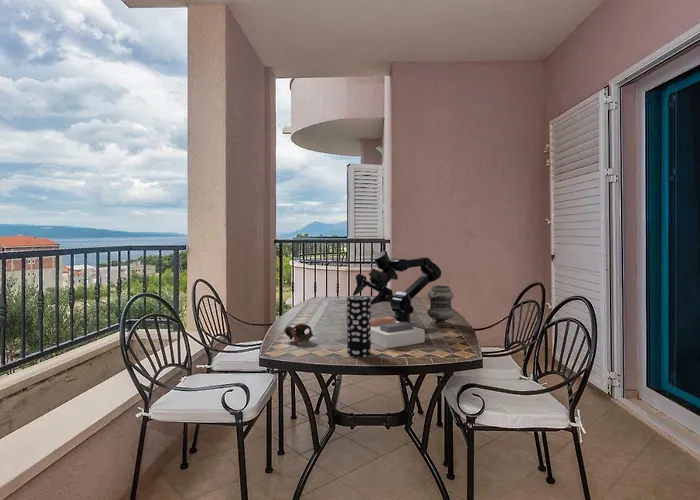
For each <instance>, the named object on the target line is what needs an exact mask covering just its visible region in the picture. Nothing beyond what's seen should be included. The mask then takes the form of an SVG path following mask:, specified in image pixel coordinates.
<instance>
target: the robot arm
mask: <svg viewBox="0 0 700 500" xmlns="http://www.w3.org/2000/svg"><path fill="white" fill-rule="evenodd" d="M372 259H373V261H374V262H375V265H376V266H377V268H378V270H377V269H376V268H373V267H372V268H371V269H370V271H369V272H368V274H367V275H369V280H368V279H367V276H366V275H364V274H362V273H358V274H356V275H355V282H356V286H355V289H354V290H353V293H352V295H353V296H352V297H354V296H356V295H358V294H359V293H361V292H362V291H363V290H364V289H365V288H366V287H368V288H371V289H372V290H374V291H375V292H377V293H378V294H377V295H375V297H374V298H373V299H371V300H370V305H371V306H372V305H375V304H379V303H384V302H385V303H387V302H388V303H390V307H391V311H392V312H394V317H393V318H396V321H399V322H409V323H411V314H412V313H413V312H414V307H413V306H412V300H413V298H415V297H416V296H417V295H418V294H419V293H420V292H421V291H422V290H424V289H425V287H426V286H427V285H428V284H429V283H432V282H435V281H437V280H438V279H439V280H440V278H441V277H442V270H441V268H440V267H439V266H438V265H437V264H436V263H435V262H433V261H432V260H431V259H430V258H429V257H425V256H424V257H423V256H422V257H421V256H420V257H417V258H409V259H408V258H407V259H406V258H390V257H389V255H388V252H387V250H382V251H379V252H378V253H375V254H374V255H373V257H372ZM417 267H420V271H421V275H420V277H418V279H416V280H415V281H414V282H413V283H412V284H411V285H410V286H408V288H406V290H404V291H399V290H398V291H396V292H395V293H394V294H393V290H392V289H391V288H390V287H387V286H388V284H389V282H390V281H391V280H395V281H396V280H398V279H399V278H398V273H397V272H405V271H407V270H408V269H411V268H417ZM379 270H381V271H379Z"/></svg>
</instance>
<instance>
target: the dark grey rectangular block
mask: <svg viewBox="0 0 700 500" xmlns="http://www.w3.org/2000/svg"><path fill="white" fill-rule="evenodd" d="M413 326H414V323H412V322H410V323H409V322H398V323H390V324H382V325H380V330H381V331H384V332H387V333H388V332H395V331H402V330H410V329H413Z"/></svg>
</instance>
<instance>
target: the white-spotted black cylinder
mask: <svg viewBox="0 0 700 500" xmlns="http://www.w3.org/2000/svg"><path fill="white" fill-rule="evenodd" d="M370 302H371V297H369V296H359V295H358V296H356V295H355V296H349V297H347V298H346V304H347V305H346V314H347V315H346V316H347V317H346V321H347V322H346V324H347V325H346V327H347V329H346V331H347V333H346V334H347V335H346V337H347V339H346V342H347V344H346V345H347V346H346V347H347V355H348V356H349V357H354V358H365V357H369V356H371V354H372V353H371V352H372V350H371V349H372V347H371V344H372V342H371V318H372V317H371V315H372V314H371V312H372V311H371V310H372V309H371V306H372V305H370Z"/></svg>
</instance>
